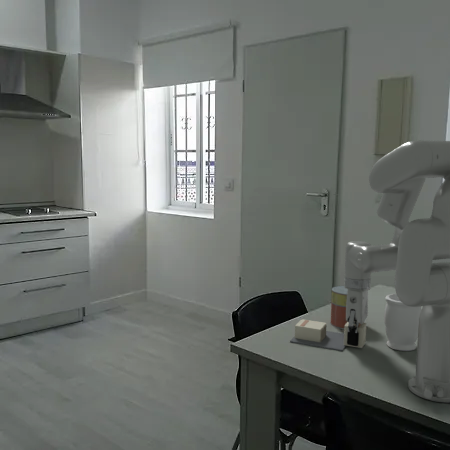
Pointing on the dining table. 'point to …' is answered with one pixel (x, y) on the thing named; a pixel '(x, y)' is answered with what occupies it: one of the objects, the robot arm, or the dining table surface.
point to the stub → (361, 334)
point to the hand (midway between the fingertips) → (354, 340)
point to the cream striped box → (310, 330)
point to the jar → (401, 324)
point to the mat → (325, 341)
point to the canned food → (338, 307)
